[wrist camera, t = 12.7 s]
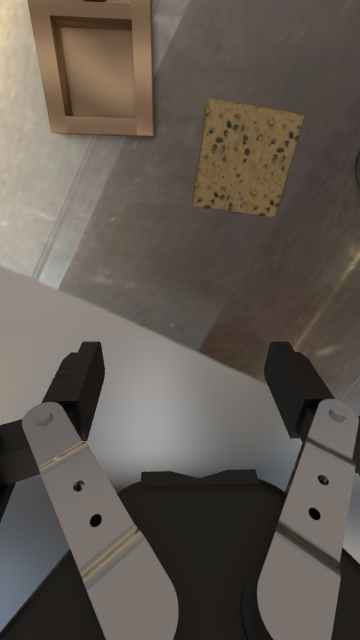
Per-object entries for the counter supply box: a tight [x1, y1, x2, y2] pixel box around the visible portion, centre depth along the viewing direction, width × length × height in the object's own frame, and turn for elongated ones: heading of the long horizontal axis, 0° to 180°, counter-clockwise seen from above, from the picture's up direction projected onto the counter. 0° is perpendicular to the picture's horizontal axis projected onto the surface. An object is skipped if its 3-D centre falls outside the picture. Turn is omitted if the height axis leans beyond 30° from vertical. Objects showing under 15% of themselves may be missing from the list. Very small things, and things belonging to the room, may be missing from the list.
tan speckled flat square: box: [193, 97, 304, 217], centre depth 36 cm, size 12×12×1 cm
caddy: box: [28, 0, 154, 137], centre depth 27 cm, size 19×11×4 cm, turn 179°
